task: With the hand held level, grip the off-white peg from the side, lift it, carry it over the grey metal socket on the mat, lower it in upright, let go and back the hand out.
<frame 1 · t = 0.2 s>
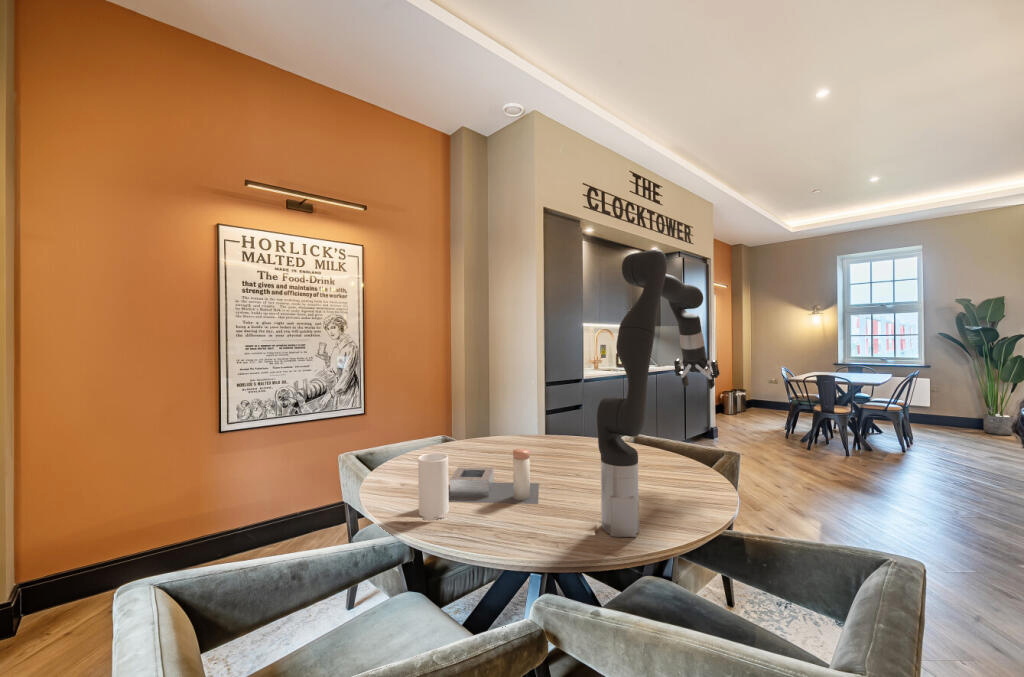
hand: (698, 386, 144), 31 cm above the table, tool tilted 20°, fingers open, 8 cm apart
peg: (521, 497, 122), point 1 cm above the table, touching mat
cup: (433, 515, 113), on the table
mat: (493, 495, 127), on the table
socket: (472, 489, 129), resting on mat
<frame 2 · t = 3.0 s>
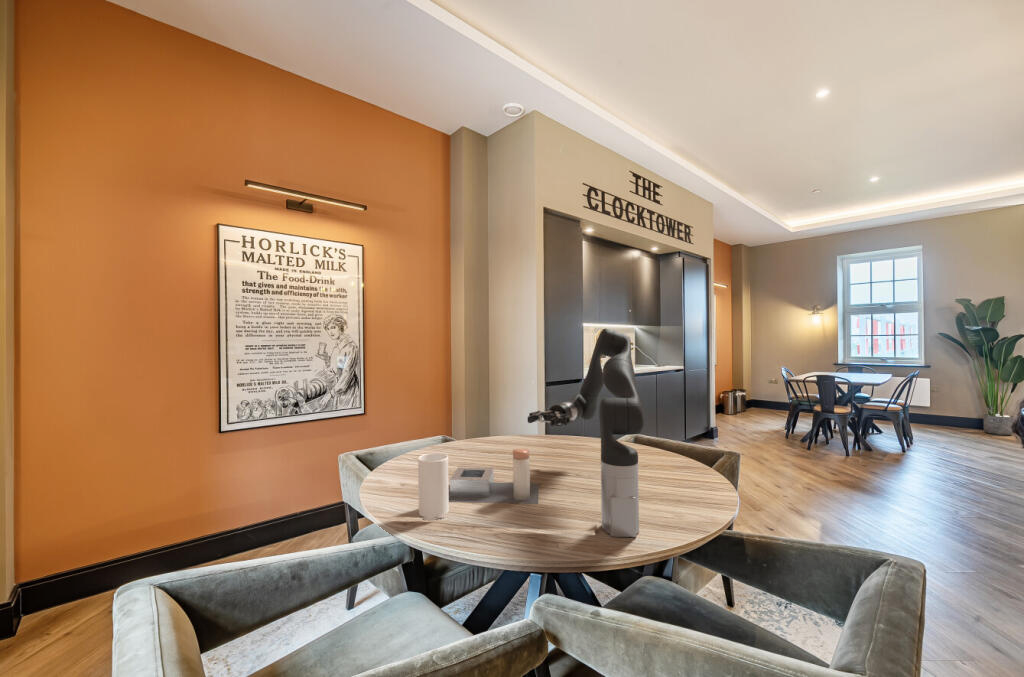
hand: (539, 421, 131), 22 cm above the table, tool horizontal, fingers open, 8 cm apart
nothing on the table moved.
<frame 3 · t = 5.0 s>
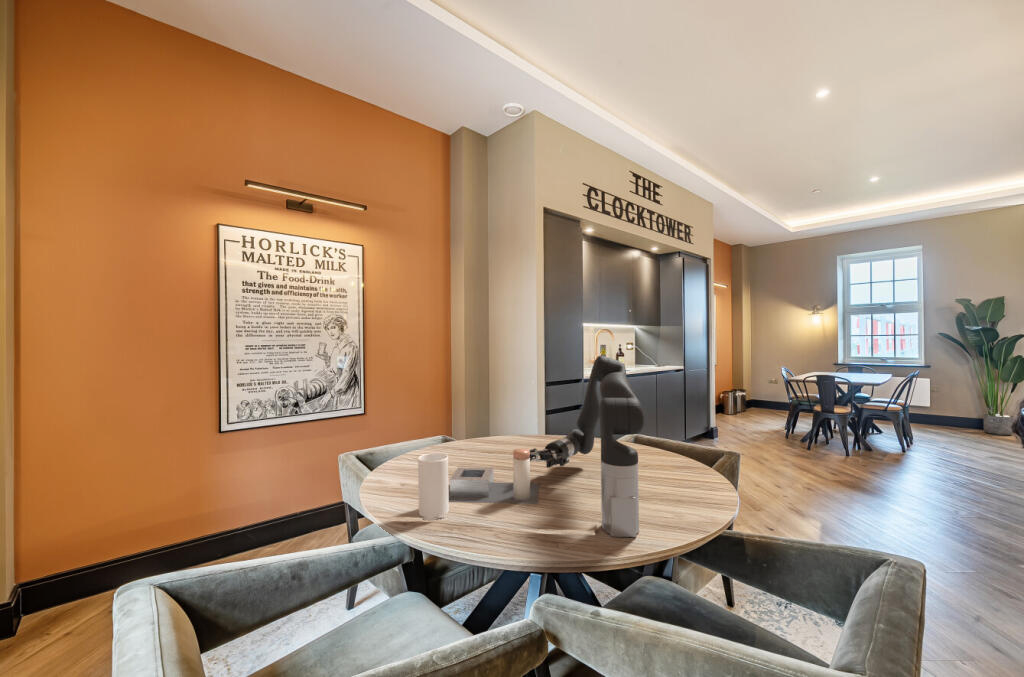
hand: (535, 462, 129), 9 cm above the table, tool horizontal, fingers open, 8 cm apart
nothing on the table moved.
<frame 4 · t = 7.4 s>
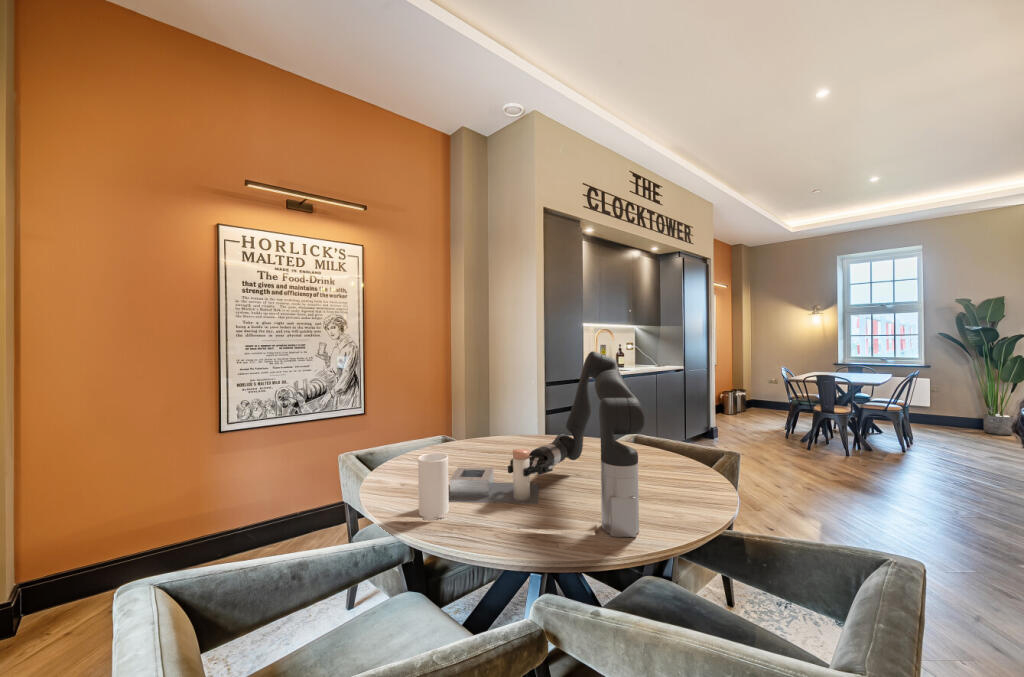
hand: (516, 471, 120), 10 cm above the table, tool horizontal, fingers closed on peg, 5 cm apart
peg: (521, 497, 122), point 1 cm above the table, touching gripper, mat
everything else where it was.
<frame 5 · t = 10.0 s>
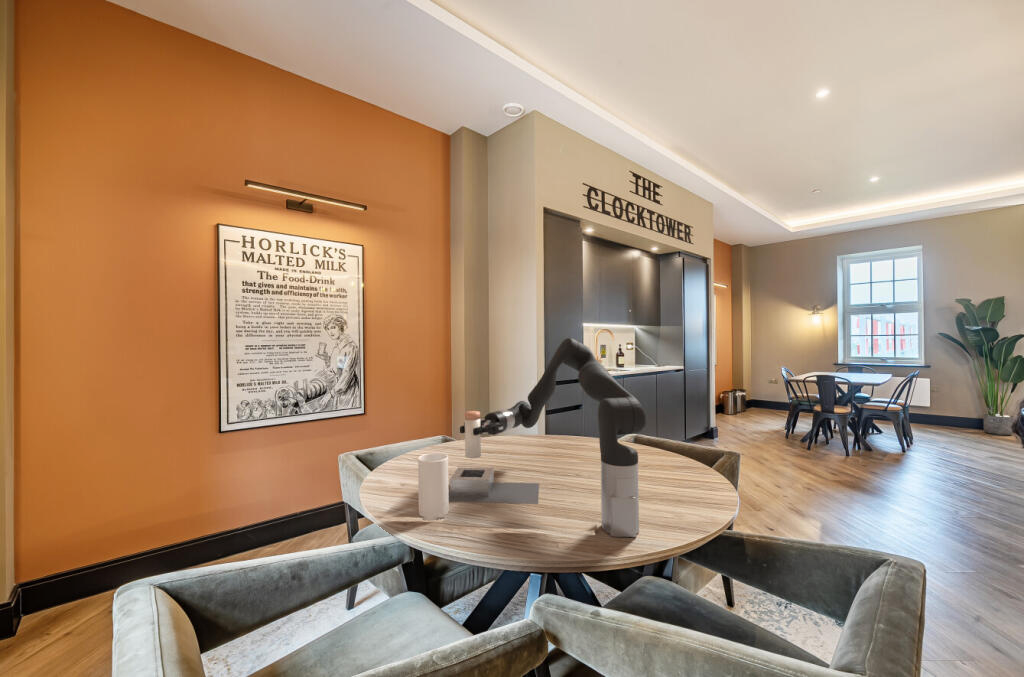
hand: (467, 431, 127), 20 cm above the table, tool horizontal, fingers closed on peg, 5 cm apart
peg: (473, 456, 130), point 11 cm above the table, touching gripper
everything else where it was.
when the fingers open (11 cm above the table, at t = 12.6 s): peg drops 1 cm, resting on mat.
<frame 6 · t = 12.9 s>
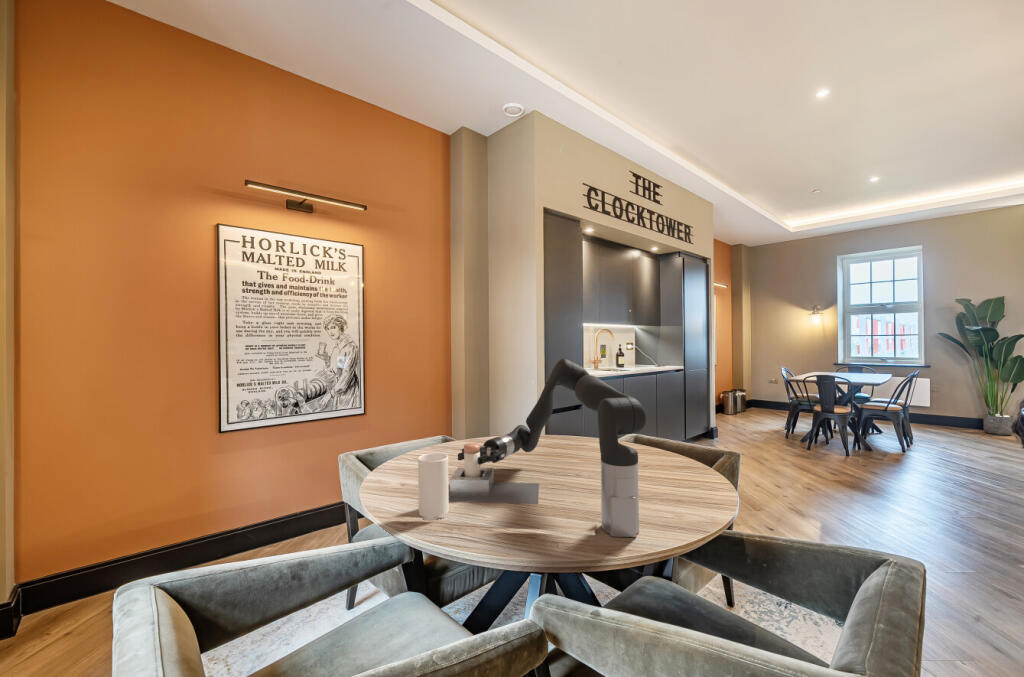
hand: (468, 459, 128), 11 cm above the table, tool horizontal, fingers open, 8 cm apart
peg: (472, 488, 129), point 1 cm above the table, touching mat
everything else where it was.
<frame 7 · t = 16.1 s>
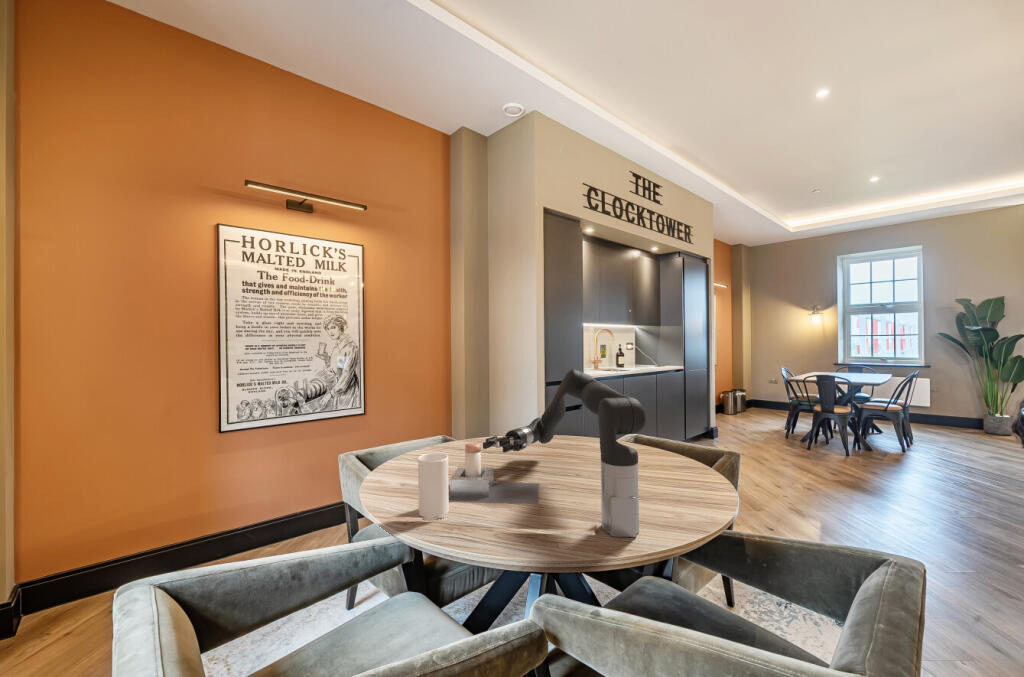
hand: (493, 447, 138), 12 cm above the table, tool horizontal, fingers open, 8 cm apart
nothing on the table moved.
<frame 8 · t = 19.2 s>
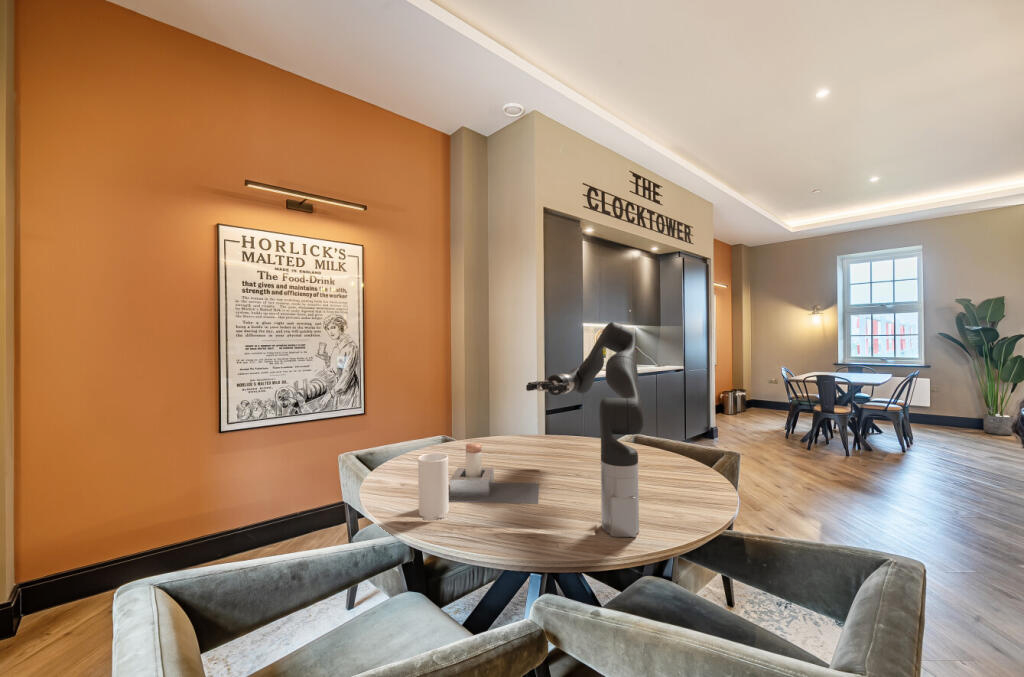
hand: (538, 388, 137), 32 cm above the table, tool horizontal, fingers open, 8 cm apart
nothing on the table moved.
at the end: peg 0.1 cm off-centre on the socket, point 0.1 cm above the socket's base; peg tilted 2°; the gripper is holding nothing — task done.
